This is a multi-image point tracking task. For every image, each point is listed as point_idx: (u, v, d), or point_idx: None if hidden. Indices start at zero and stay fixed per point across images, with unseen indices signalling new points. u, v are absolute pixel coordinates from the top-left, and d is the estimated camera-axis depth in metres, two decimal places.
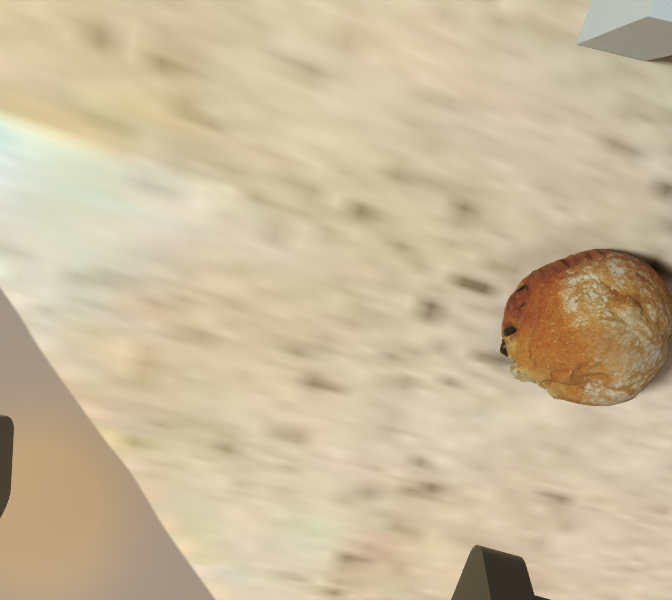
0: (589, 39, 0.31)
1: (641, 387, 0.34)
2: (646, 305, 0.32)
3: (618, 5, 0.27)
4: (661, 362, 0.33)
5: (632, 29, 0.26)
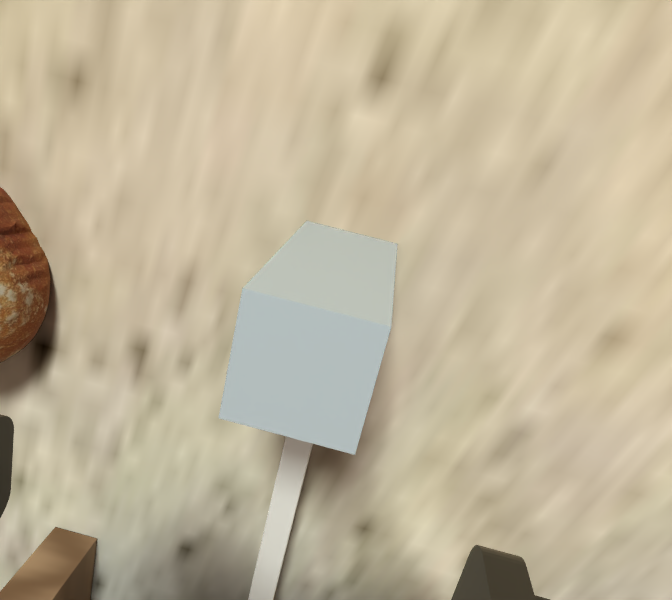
0: (297, 232, 0.22)
1: None
2: None
3: (313, 257, 0.19)
4: None
5: None
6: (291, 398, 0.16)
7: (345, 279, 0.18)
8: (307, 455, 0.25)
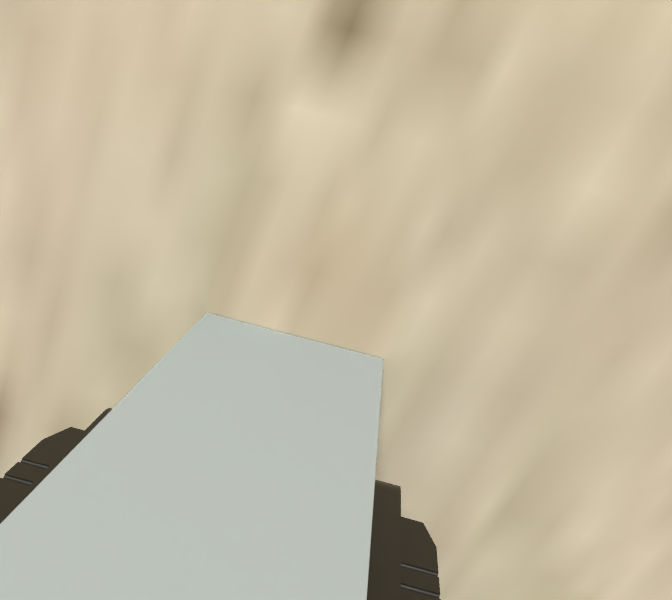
0: (167, 355, 0.10)
1: None
2: None
3: (159, 475, 0.07)
4: None
5: None
6: None
7: (218, 595, 0.06)
8: None
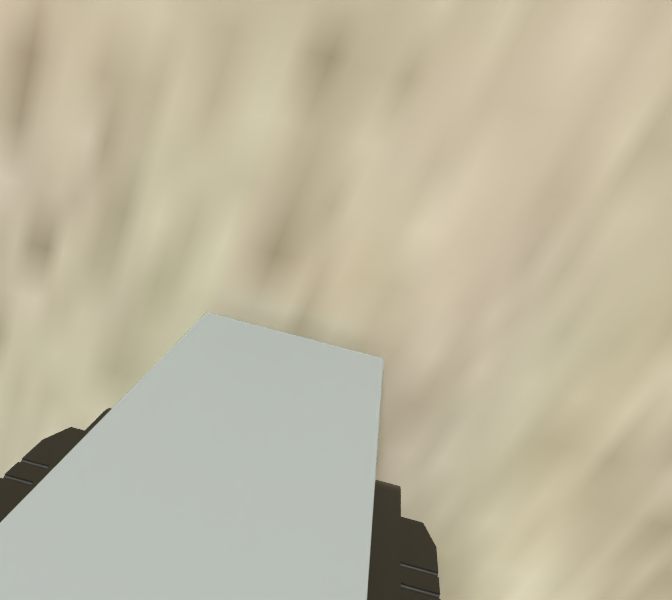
0: (167, 354, 0.10)
1: None
2: None
3: (159, 473, 0.07)
4: None
5: None
6: None
7: (218, 594, 0.06)
8: None
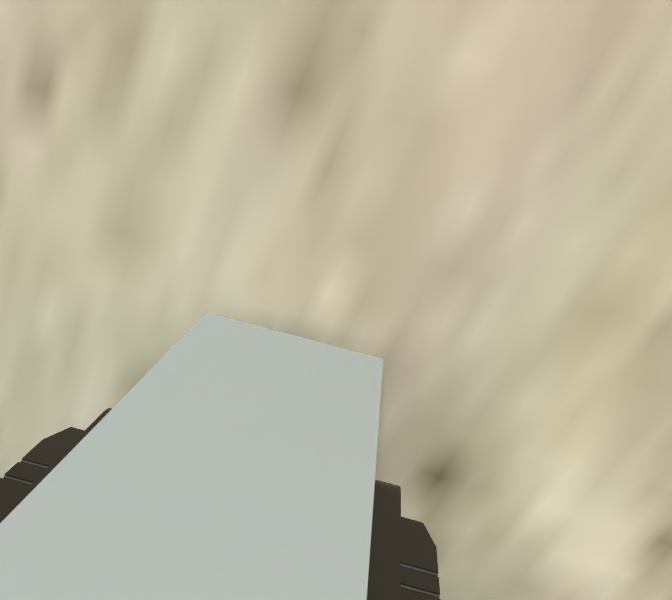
0: (167, 355, 0.10)
1: None
2: None
3: (159, 474, 0.07)
4: None
5: None
6: None
7: (218, 594, 0.06)
8: None
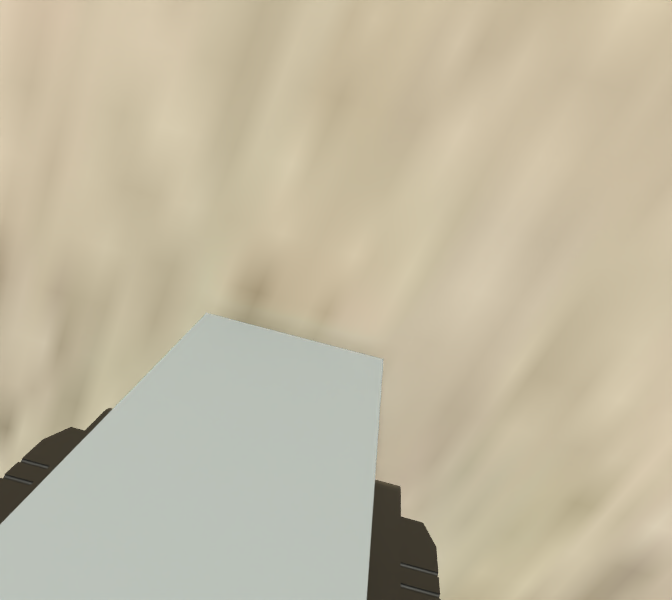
0: (167, 355, 0.10)
1: None
2: None
3: (159, 475, 0.07)
4: None
5: None
6: None
7: (218, 595, 0.06)
8: None
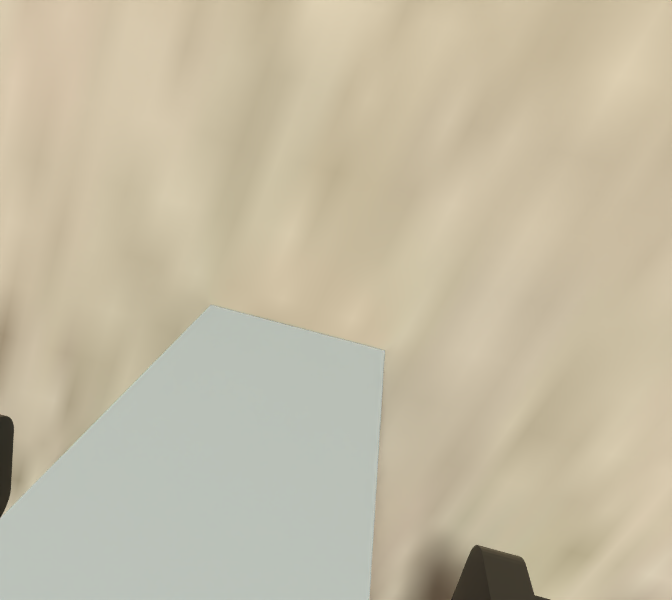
0: (173, 345, 0.11)
1: None
2: None
3: (168, 458, 0.07)
4: None
5: None
6: None
7: (228, 570, 0.06)
8: None
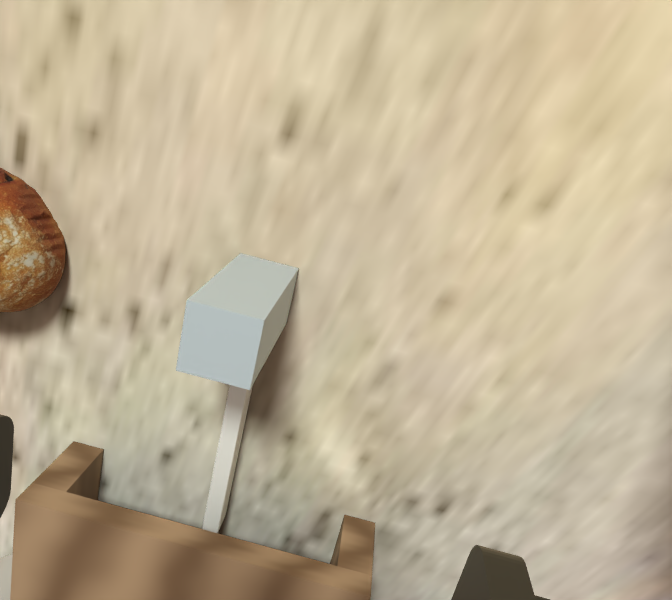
0: (231, 262, 0.36)
1: None
2: None
3: (235, 280, 0.33)
4: None
5: None
6: (214, 359, 0.29)
7: (249, 293, 0.31)
8: (242, 405, 0.39)
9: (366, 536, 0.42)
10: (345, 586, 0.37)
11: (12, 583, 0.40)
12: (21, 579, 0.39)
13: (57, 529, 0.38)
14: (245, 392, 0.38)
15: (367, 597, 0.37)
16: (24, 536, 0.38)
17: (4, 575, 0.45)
